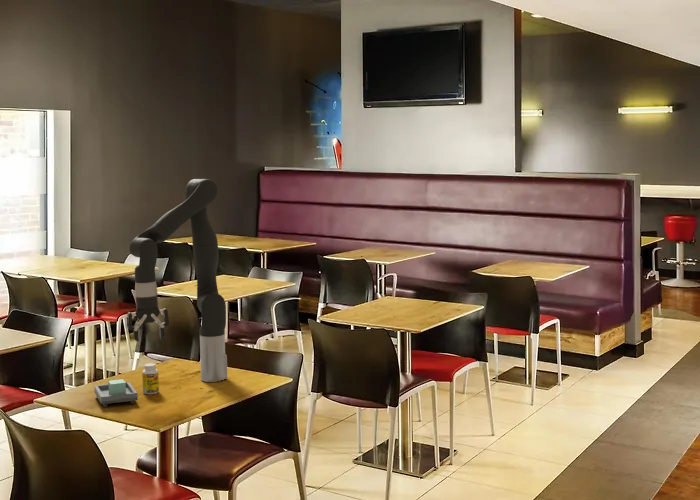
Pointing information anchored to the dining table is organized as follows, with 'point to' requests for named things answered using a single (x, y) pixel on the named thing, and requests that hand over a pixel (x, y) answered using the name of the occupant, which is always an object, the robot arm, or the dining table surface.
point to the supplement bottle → (150, 379)
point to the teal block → (117, 387)
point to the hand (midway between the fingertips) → (149, 339)
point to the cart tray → (105, 398)
